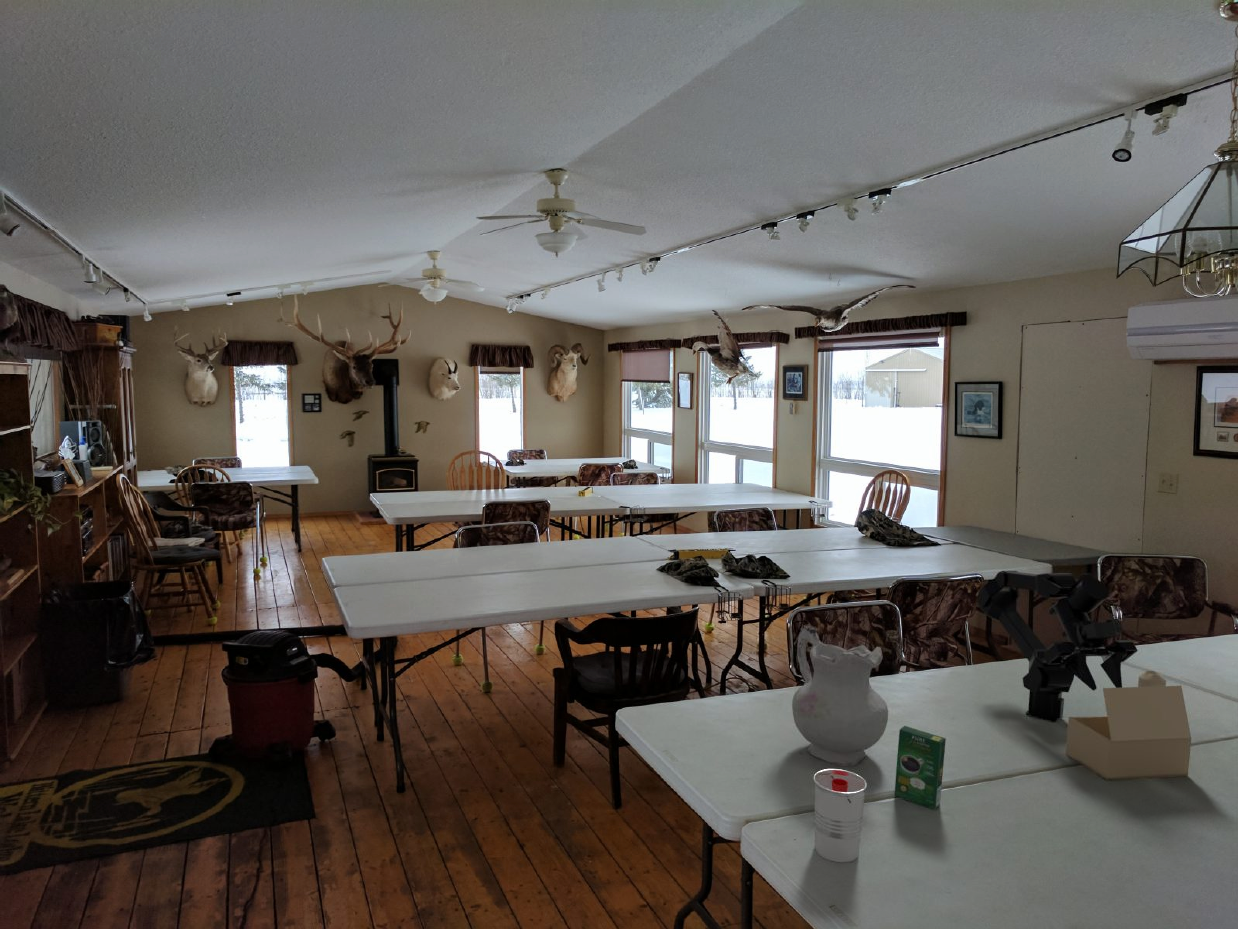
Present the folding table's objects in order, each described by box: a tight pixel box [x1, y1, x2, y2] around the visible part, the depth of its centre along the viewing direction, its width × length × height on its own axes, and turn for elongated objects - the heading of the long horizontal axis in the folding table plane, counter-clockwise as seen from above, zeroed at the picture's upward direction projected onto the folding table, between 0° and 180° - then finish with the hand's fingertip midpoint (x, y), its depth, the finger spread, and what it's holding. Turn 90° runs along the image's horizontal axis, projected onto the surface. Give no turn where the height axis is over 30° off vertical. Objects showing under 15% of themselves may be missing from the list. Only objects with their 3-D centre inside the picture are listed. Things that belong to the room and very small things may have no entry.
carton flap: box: [1102, 685, 1192, 741], centre depth 168 cm, size 10×17×1 cm
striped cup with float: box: [812, 768, 868, 863], centre depth 138 cm, size 10×8×12 cm
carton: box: [1065, 715, 1192, 781], centre depth 173 cm, size 12×18×8 cm, turn 98°
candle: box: [1137, 670, 1167, 687], centre depth 202 cm, size 6×6×10 cm
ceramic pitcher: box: [791, 625, 889, 768], centre depth 176 cm, size 22×20×25 cm
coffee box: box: [893, 725, 947, 811], centre depth 156 cm, size 8×3×13 cm, turn 49°
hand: (1107, 689), depth 179 cm, fingers open, 6 cm apart
